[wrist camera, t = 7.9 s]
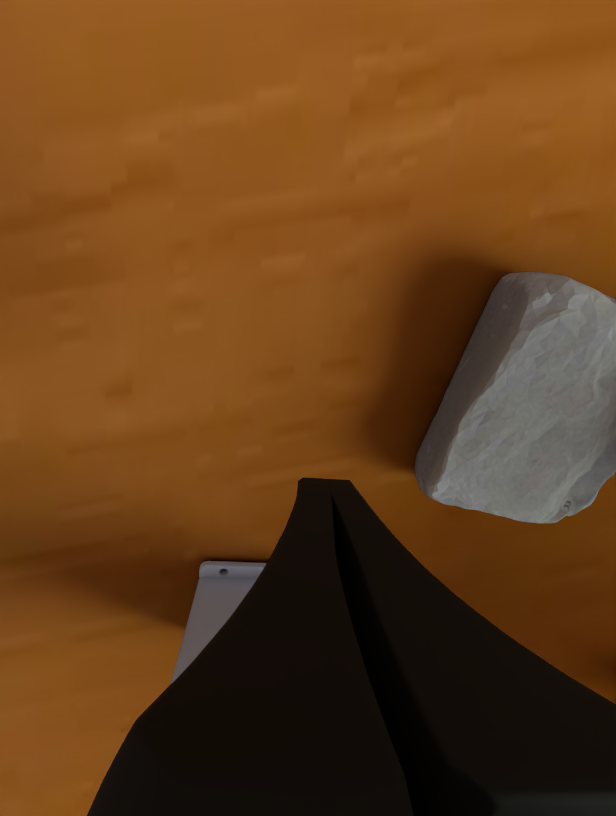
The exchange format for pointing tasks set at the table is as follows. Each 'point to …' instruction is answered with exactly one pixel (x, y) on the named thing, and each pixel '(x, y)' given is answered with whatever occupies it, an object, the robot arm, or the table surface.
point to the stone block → (528, 404)
